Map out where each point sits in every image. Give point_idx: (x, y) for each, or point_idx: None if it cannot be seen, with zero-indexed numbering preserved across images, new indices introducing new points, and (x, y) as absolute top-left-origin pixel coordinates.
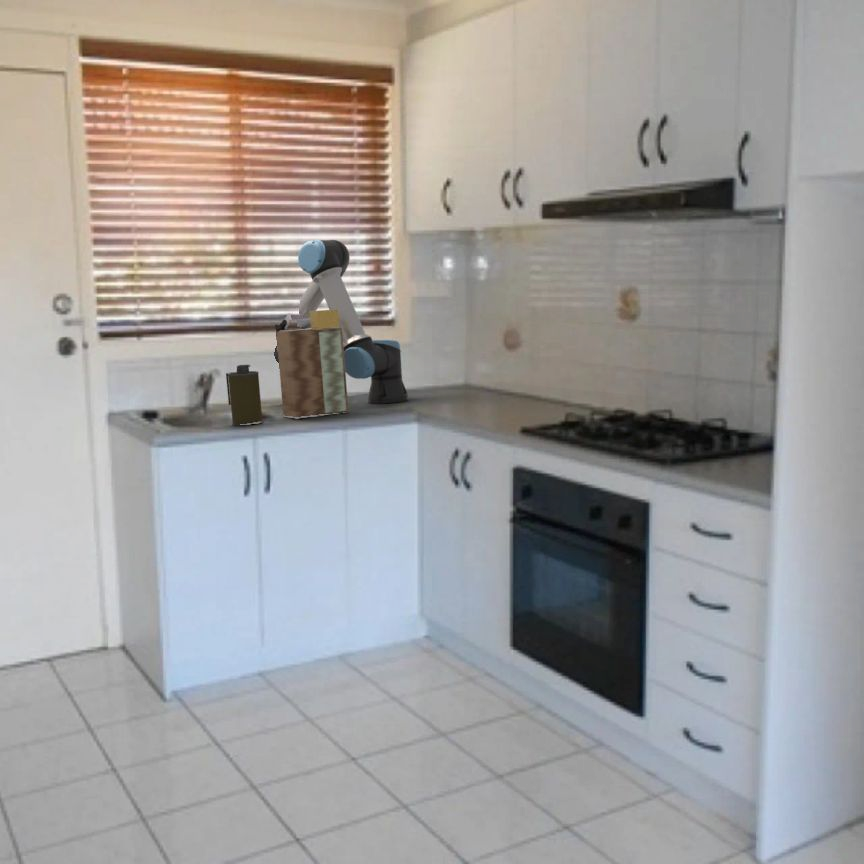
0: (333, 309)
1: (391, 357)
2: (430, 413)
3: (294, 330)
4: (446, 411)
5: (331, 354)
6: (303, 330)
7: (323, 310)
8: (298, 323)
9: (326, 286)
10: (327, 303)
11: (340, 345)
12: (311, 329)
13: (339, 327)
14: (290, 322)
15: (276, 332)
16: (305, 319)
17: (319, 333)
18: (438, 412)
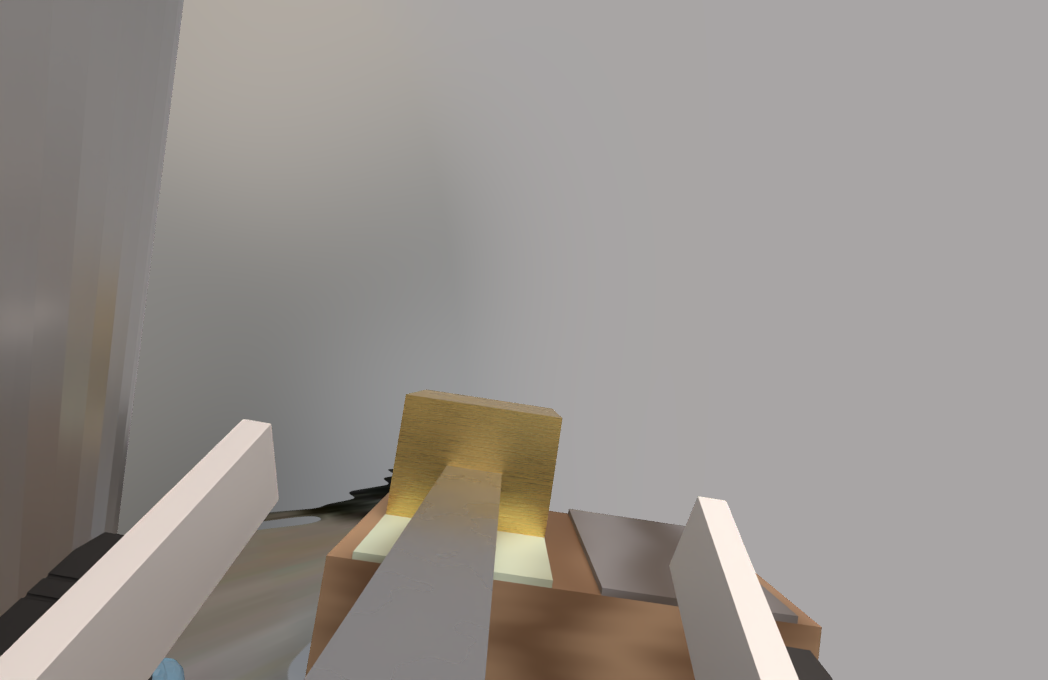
0: (127, 391)
1: None
2: (252, 673)
3: (673, 533)
4: (202, 663)
5: None
6: (624, 519)
7: (499, 402)
8: None
9: (172, 80)
10: (71, 305)
11: None
12: (577, 511)
13: (385, 496)
14: (685, 627)
15: (818, 631)
16: (431, 591)
17: None
18: (227, 668)
